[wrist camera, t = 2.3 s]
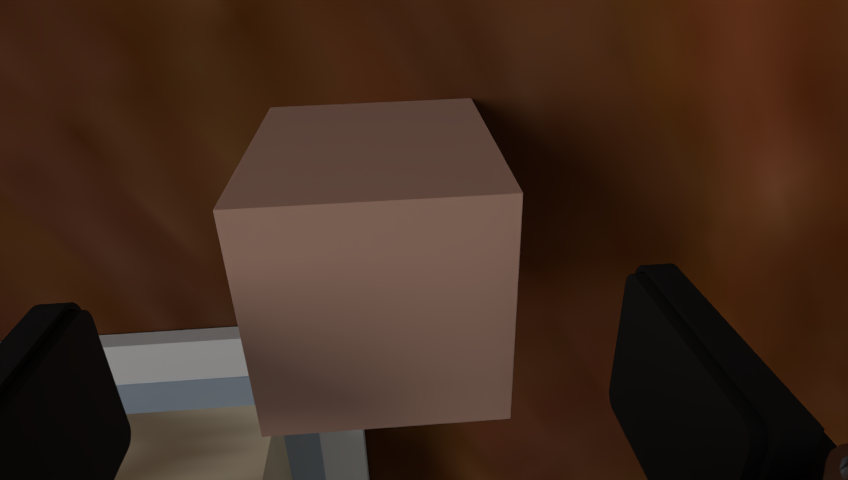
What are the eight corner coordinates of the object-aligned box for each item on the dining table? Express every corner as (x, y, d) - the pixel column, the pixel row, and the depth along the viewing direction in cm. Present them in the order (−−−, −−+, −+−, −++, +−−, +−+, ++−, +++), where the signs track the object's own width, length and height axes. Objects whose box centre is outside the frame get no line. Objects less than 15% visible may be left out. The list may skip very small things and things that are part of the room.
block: (470, 97, 15) (523, 192, 10) (469, 267, 17) (510, 418, 12) (270, 107, 15) (212, 210, 9) (296, 278, 17) (261, 437, 12)
